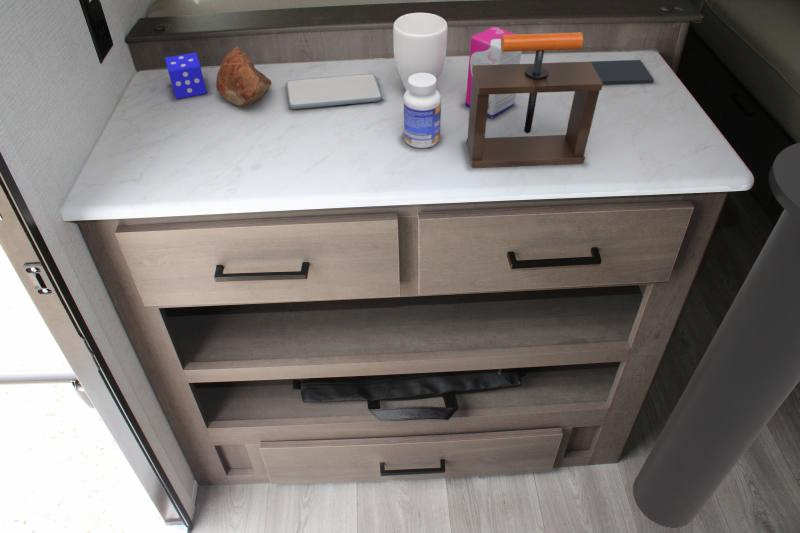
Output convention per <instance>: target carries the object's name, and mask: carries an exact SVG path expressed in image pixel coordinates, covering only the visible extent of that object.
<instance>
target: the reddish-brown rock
mask: <svg viewBox="0 0 800 533" xmlns="http://www.w3.org/2000/svg"><path fill="white" fill-rule="evenodd" d="M271 86H272V80H271V79H269V78H268V77H267V76H266V75H265V74H264V73H262V72H261V71H260V70H258V69H257V68H256V67H255V65H254V62H253V61H252V60H251V59H250V58H249V56H248V55H247V54H246V52H245V51H242V50H241V49H240V47H239V46H238V45H236V46H235V47H234V48H233V49H232V51H230V52H228V53H226V54H225V56H223V59H222V61H221V63H220V67H219V69H218V70H217V74H216V82H215V88H216V91H217V92H218V94H220V96H222V98H224V99H225V100H227V101H228V102H230V103H232V104H233V105H236V106H239V107H244V106H248V105H252V103H254V102H256V101H257V100H259V99H260V98H261V97H263V96H264V95H265V94H266V93H267V92H268V91H269V89H270V88H271Z"/></svg>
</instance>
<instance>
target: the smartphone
mask: <svg viewBox="0 0 800 533" xmlns="http://www.w3.org/2000/svg"><path fill="white" fill-rule="evenodd" d="M285 87H286V94H287V95H286V96H287V101H288V107H289V108H290V109H292V110H298V109H299V110H300V109H310V108H320V107H321V108H323V107H332V106H341V105H342V106H343V105H354V104H364V103H377V102H381V101H382V100H383V95H382V91H381V89H380V86H379V82H378V79H377V77H376V75H375V74H374V73H362V74H361V73H360V74H349V75H338V76H336V75H335V76H326V77H313V78H303V79H302V78H301V79H300V78H299V79H290V80H288V81H286V82H285Z"/></svg>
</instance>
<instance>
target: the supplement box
mask: <svg viewBox="0 0 800 533" xmlns="http://www.w3.org/2000/svg"><path fill="white" fill-rule="evenodd" d="M502 35H516V33H514V32H511V31H508V30H505V29H503V28H500V27H497V26H496V25H495V26H492V27H490V28H487V29H486V30H483V31H481V32H478V33H477V34H473V35H472V36H471V37H470V45H469V56H468V70H467V82H466V93H465V94H466V95H465V104H464V105H465V107H468V108H469V109H470V100H471V88H472V76H473V73H472V67H473V65H502V64H521V59H522V52H523V51H510V52H502V50H501V37H502ZM516 95H517V93H516V94H489V102H488V111H487V118H490V119H494V118H496V117H498V116H500V115H501V114H502V113H504V112H506V111H508V110H510V109H511V108H513V107H514V106H515V102H516Z"/></svg>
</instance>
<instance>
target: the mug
mask: <svg viewBox="0 0 800 533" xmlns="http://www.w3.org/2000/svg"><path fill="white" fill-rule="evenodd" d="M447 23H448V22H447V21H446V20H445V19H444V18H443V17H442V16H440V15H438V14H433V13H431V12H430V13H429V12H411V13H406V14H403V15H401V16H399V17H398V18H397V19H395V21H394V22H393V26H392V27H393V29H392V30H393V31H392V35H393V37H392V38H393V39H392V40H393V58H394V63H395V66H396V70H397V72H398V73H399V77H400V79H401V82H402V84H403V87H404V89H405V92H406V91H407V90H408V78H409V77H410V76H411V75H413V74H416V73H429V74H432V75H434V76H435V77H436V80H437V81H438V80H439V77H440V75H441V74H442V71H443V67H444V65H445V62H446V57H447V47H448V24H447Z"/></svg>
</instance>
